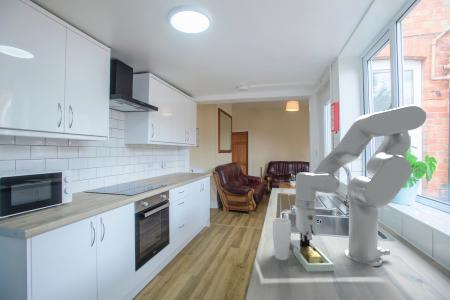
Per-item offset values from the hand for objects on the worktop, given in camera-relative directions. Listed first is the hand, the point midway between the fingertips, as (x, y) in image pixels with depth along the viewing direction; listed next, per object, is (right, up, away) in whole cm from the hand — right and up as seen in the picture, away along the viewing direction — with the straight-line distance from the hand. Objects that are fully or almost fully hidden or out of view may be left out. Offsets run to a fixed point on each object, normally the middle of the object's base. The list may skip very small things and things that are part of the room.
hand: (304, 249), depth 90 cm
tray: (0, -2, -6) cm, 7 cm away
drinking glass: (-10, -3, -3) cm, 11 cm away
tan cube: (0, -2, -8) cm, 8 cm away
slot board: (0, -2, +6) cm, 6 cm away
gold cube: (0, -2, -4) cm, 4 cm away
